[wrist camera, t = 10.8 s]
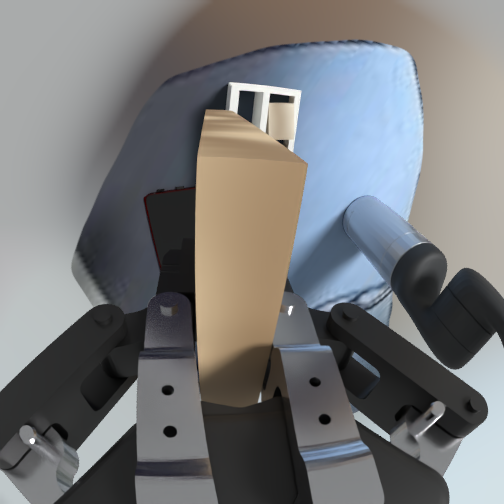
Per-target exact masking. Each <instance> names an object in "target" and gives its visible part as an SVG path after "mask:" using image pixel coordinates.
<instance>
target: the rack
mask: <svg viewBox="0 0 504 504" xmlns="http://www.w3.org/2000/svg"><path fill="white" fill-rule="evenodd" d="M239 90H240V91H251V92H255V96H254V106H253V115H252V124H253V125H255V126H256V127H258V128H259V129H261V130H262V131H263V132H265V133H266V124H267V116H268V107H269V99H270V94H278V95H285V96H289V102H288V103H292V104H294V140H295V133H296V126H297V119H298V112H299V104H300V96H301V91H299V90H293V89H287V88H280V87H272V86H264V85H255V84H244V83H231V82H230V83H228V91H227V101H226V110H229V111H233V112H235V113H236V114H237V110H238V100H239ZM294 140H284V141H283V146H285V147H286V148H287V149H289V150H290V151H292V152H293V147H294Z"/></svg>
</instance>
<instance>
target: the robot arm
mask: <svg viewBox="0 0 504 504" xmlns="http://www.w3.org/2000/svg"><path fill="white" fill-rule="evenodd" d="M343 227H344V230H345V232H346V234H347V235H348V236H349V237H350V238H351V240H352V241H353V242H354V243H355V244H356V246H357V247H358V248H359V249H360V250H361V252H362V253H363V254H364V255H365V256H366V258H367V259H368V260H369V261H370V263H371V264H372V265H373V266H374V267H375V269H376V270H377V271H378V272H379V274H380V275H381V276H382V278H383V279H384V280H385V281H386V282H387V284H388V285H389V286H390V288H391V289H392V290H393V292H394V293H395V294H396V295H397V297H398V299H399V301H400V303H401V304H402V305H403V307H404V308H405V310H406V311H407V313H408V314H409V315H410V317H411V319H412V320H413V322H414V323H415V325H416V327H417V329H418V330H419V332H420V334H421V335H422V337H423V338H424V340H425V342H426V343H427V345H428V346H429V348H430V349H431V351H432V352H433V354H434V355H435V356H436V357H437V359H439V360H440V362H441V363H443V364H444V365H445V366H447V367H448V368H450V369H459V368H462V367H463V366H464V365H465V364H466V363H467V362H469V361H470V360H471V359H472V358H473V357H474V355H475V354H476V353H477V352H478V351H479V350H480V349H481V348H482V347H483V346H484V345H485V344H486V343H487V341H488V340H489V339H490V338H491V337H492V335H494V333H495V332H497V333H498V335H499V337H500V339H501V341H502V344H503V347H504V299H503V297H502V296H501V295H500V294H499V293H498V291H497V290H496V289H495V288H494V287H493V286H492V285H491V284H490V283H489V282H488V281H487V280H486V279H485V278H484V277H483V276H482V275H480V274H479V273H478V272H476V271H474V270H473V269H469V268H464V269H461V270H460V271H459V272H458V273H457V274H456V275H455V276H454V278H453V279H452V280H451V281H450V282H449V284H448V286H446V287H445V289H444V290H443V291H442V292H441V294H440V291H441V288H442V285H443V282H444V280H445V277H446V272H447V261H446V258H445V256H444V254H443V253H442V252H441V251H440V250H439V249H438V248H437V247H436V246H435V245H433V244H432V243H431V242H430V241H429V240H428V239H427V238H425V237H424V236H423V235H422V234H421V233H420V232H418V231H417V230H416V229H415V228H414V227H413V226H412V225H410V224H409V223H408V222H407V221H406V220H404V219H403V218H402V217H401V216H400V215H398V214H397V213H396V212H395V211H393V210H392V209H391V208H389V207H388V206H387V205H385V204H384V203H383V202H381V201H380V200H379V199H377V198H376V197H373V196H363V197H360V198H358V199H356V200H355V201H354V202H352V203H351V204H350V206H349V207H348V208H347V210H346V212H345V215H344V218H343ZM195 341H197V324H196V290H195V238H183V240H182V247H181V250H169V251H168V252H167V253H166V254H165V255H164V257H163V261H162V266H161V272H160V276H159V281H158V287H157V292H156V296H154V297H153V298H152V299H151V300H150V301H149V303H148V307H147V308H145V309H143V310H141V311H138V312H134V313H129V314H124V313H123V311H122V310H121V309H120V308H119V307H117V306H115V305H112V304H103V305H98V306H96V307H94V308H92V309H91V310H89V311H88V312H87V313H86V314H85V315H83V316H82V317H81V318H80V319H79V320H78V321H76V322H75V323H74V324H73V325H72V326H70V328H68V329H67V330H66V331H65V332H64V333H63V334H61V335H60V336H59V337H58V338H57V339H56V340H55V341H53V342H52V343H51V344H50V345H49V346H48V347H47V348H46V349H45V350H44V351H43V352H41V353H40V354H39V355H38V356H37V357H36V358H35V359H34V360H33V361H32V362H31V363H29V364H28V365H27V366H26V367H25V368H24V369H23V370H22V371H21V372H20V373H19V374H18V375H17V376H16V377H15V378H14V379H13V380H12V381H11V382H10V383H9V384H8V385H7V386H6V387H5V388H4V389H3V390H2V391H1V392H0V470H1V471H3V472H4V473H5V474H6V475H7V477H8V478H9V479H10V480H11V481H12V483H13V484H14V485H15V486H16V488H17V489H18V490H19V491H20V492H21V493H22V494H23V496H25V498H26V499H27V500H28V501H29V502H30V503H31V504H449V490H448V486H447V483H446V482H445V480H444V478H443V475H444V473H445V472H446V470H447V468H448V466H449V465H450V463H451V461H452V459H453V457H454V455H455V453H456V451H457V450H458V447H459V446H460V443H461V441H462V439H463V438H464V437H465V436H467V435H468V434H469V433H471V432H472V431H473V430H474V429H475V428H477V427H478V426H479V425H480V424H481V423H483V422H484V420H485V419H486V418H487V414H488V407H487V403H486V401H485V399H484V397H483V396H482V395H481V394H480V393H479V392H477V391H476V390H475V389H473V388H472V387H470V386H469V385H468V384H466V383H465V382H464V381H462V380H461V379H460V378H458V377H457V376H455V375H454V374H453V373H451V372H450V371H449V370H447V369H446V368H444V367H443V366H442V365H440V364H439V363H438V362H436V361H435V360H433V359H432V358H431V357H429V356H428V355H426V354H425V353H424V352H422V351H421V350H420V349H418V348H417V347H415V346H414V345H413V344H411V343H410V342H408V341H407V340H406V339H404V338H402V337H401V336H400V335H399V334H397V333H396V332H394V331H393V330H391V329H390V328H389V327H387V326H386V325H384V324H383V323H382V322H380V321H379V320H377V319H376V318H375V317H373V316H372V315H370V314H369V313H367V312H366V311H365V310H363V309H362V308H360V307H359V306H357V305H354V304H351V303H338V304H336V305H334V306H333V307H332V309H331V312H325V311H319V310H314V309H311V308H308V307H307V304H306V302H305V301H304V299H303V298H301V297H300V296H299V295H297V294H294V292H293V290H292V288H291V285H290V283H289V280H288V278H287V279H286V284H285V288H284V293H283V298H282V302H281V307H280V312H279V316H278V321H277V325H276V329H275V334H274V338H273V343H272V347H271V351H270V355H269V359H268V364H267V368H266V372H265V376H264V380H263V384H262V388H261V402H259V403H256V404H253V405H250V406H246V407H233V406H227V405H221V404H216V403H211V402H206V401H200V393H199V385H198V377H197V368H196V358H195ZM354 352H355V353H357V354H358V355H359V356H360V357H362V358H363V359H364V360H366V361H367V362H368V363H370V364H371V365H372V366H373V367H375V368H376V369H377V370H378V371H379V373H380V378H379V377H377V376H376V375H374V374H373V373H372V372H370V371H369V370H368V369H367V368H365V367H364V366H363V365H361V364H360V363H359V362H358V361H356V360H355V359H354V358H353V357H352V355H353V353H354ZM137 378H138V381H137V423H136V424H134V425H133V426H132V427H131V428H130V429H129V430H128V431H127V432H126V433H125V434H124V435H123V436H122V437H121V438H120V439H119V440H118V441H117V442H116V443H115V444H114V445H113V446H112V447H111V448H110V449H109V450H108V451H107V452H106V453H105V454H104V455H103V456H102V457H101V458H100V459H99V460H98V461H97V462H96V463H95V464H94V465H93V466H92V467H91V468H90V469H89V470H88V471H87V472H86V473H85V474H84V475H83V476H82V477H81V478H80V479H79V480H78V481H77V482H76V483H75V484H74V485H73V478H74V475H75V474H76V473H77V470H78V467H79V458H78V455H77V452H76V451H77V449H78V448H79V447H80V446H81V445H82V443H83V442H84V441H85V440H86V438H87V437H88V436H89V435H90V434H91V433H92V432H93V430H94V429H95V428H96V427H97V426H98V424H99V423H100V422H101V421H102V420H103V419H104V417H105V416H106V415H107V414H108V413H109V411H110V410H111V409H112V408H113V407H114V405H115V404H116V403H117V402H118V401H119V400H120V398H121V397H122V396H123V395H124V394H125V392H126V391H127V390H128V389H129V388H130V386H131V385H132V384H133V383H134V382H135V380H137ZM349 402H350V403H351V404H352V405H353V406H354V407H356V408H357V409H358V410H359V411H360V412H362V413H363V414H364V415H365V416H367V417H368V418H369V419H370V420H372V421H373V422H374V423H375V424H377V425H378V426H379V427H380V428H382V429H383V430H384V431H385V432H387V433H388V434H389V435H390V440H391V441H390V442H388V441H387V440H385V439H384V438H382V437H381V436H379V435H378V434H376V433H374V432H373V431H371V430H370V429H368V428H367V427H366V426H364V425H362V424H361V423H360V422H358V421H357V420H355V419H354V415H353V412H352V409H351V406H350V403H349Z"/></svg>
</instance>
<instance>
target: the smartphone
mask: <svg viewBox="0 0 504 504" xmlns="http://www.w3.org/2000/svg"><path fill="white" fill-rule="evenodd" d="M158 191H164V189H158V190H157V192H154V193H149V194H148V195H146V197H147V198H146V197H144V200H145V205H146V210H147V215H148V219H149V218H150V219H149V224H150V228H151V232H152V237H153V241H154V245H155V249H156V253H157V257H158V261H159V265H160V268H161V266H162V261H163V257H164V255H165V254H166V253H167V252H168V251H169V250H181V247H182V240H183V238H195V211H196V187H188V188H184V186H182V187H176V189H174V190H167V191H164V192H158Z"/></svg>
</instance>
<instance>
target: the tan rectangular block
mask: <svg viewBox="0 0 504 504" xmlns="http://www.w3.org/2000/svg"><path fill="white" fill-rule="evenodd" d="M307 167H308V164H307V163H306V162H305V161H304V160H302V159H301V158H300V157H298V156H297V155H296V154H294V153H293V152H292V151H290V150H289V149H287V148H286V147H285V146H283V145H282V144H281V143H279V142H278V141H276V140H275V139H273V138H272V137H271V136H269V135H268V134H266V133H265V132H263V131H262V130H261V129H259V128H258V127H256V126H255V125H253V124H252V123H250V122H249V121H247V120H246V119H244V118H243V117H241V116H240V115H238V114H236V113H235V112H233V111H229V110H208V109H206V112H205V117H204V122H203V128H202V133H201V139H200V144H199V150H198V156H197V177H196V211H195V290H196V324H197V347H198V365H199V380H200V394H201V401H206V402H211V403H216V404H221V405H227V406H233V407H246V406H250V405H253V404H256V403H258V400H259V396H260V392H261V388H262V384H263V380H264V376H265V372H266V368H267V364H268V359H269V355H270V351H271V347H272V343H273V338H274V334H275V329H276V325H277V321H278V316H279V312H280V307H281V302H282V298H283V293H284V288H285V284H286V279H287V274H288V269H289V264H290V259H291V254H292V249H293V244H294V239H295V234H296V229H297V223H298V218H299V213H300V207H301V201H302V196H303V190H304V184H305V179H306V173H307Z"/></svg>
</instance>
